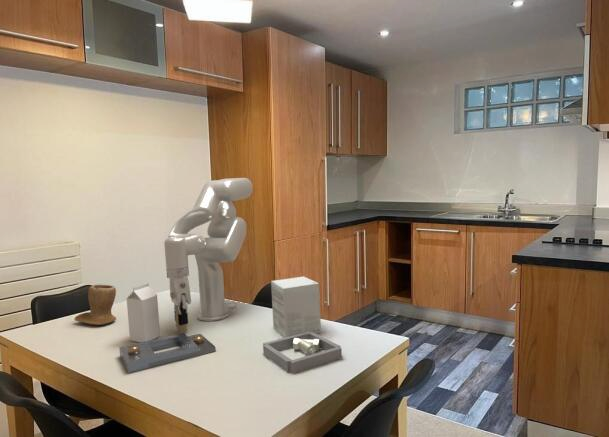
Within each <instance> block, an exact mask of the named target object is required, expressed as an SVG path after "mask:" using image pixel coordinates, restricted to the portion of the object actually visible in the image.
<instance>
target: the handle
mask: <svg viewBox="0 0 609 437" xmlns="http://www.w3.org/2000/svg"><path fill="white" fill-rule="evenodd" d="M169 295H170V299H171V298H173V299H174V298H175V297H174V294H172V293H169ZM180 305H182V303H180ZM180 308H182V307H180ZM174 311H175V314H174V320H175V319H176V321H175V326H176V330H177V331H176V332H177V334H181V333H185V334H187V333H188V324H184V325H179V322H178V314H179V311H178V306H177V305H176V304H175V310H174Z"/></svg>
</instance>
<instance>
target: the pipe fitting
mask: <svg viewBox="0 0 609 437" xmlns="http://www.w3.org/2000/svg"><path fill="white" fill-rule="evenodd" d="M292 348H293V350H294V351H301V352H303V353H305V355H306V356H308V355H312V354H315V353H317V352H321V348H320V339H299V338H294V341H293V347H292Z"/></svg>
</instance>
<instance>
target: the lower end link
mask: <svg viewBox="0 0 609 437" xmlns="http://www.w3.org/2000/svg"><path fill="white" fill-rule="evenodd" d="M187 336H188V337H189V338H190V339H191V340H192V341H193V342H194V343H195V344H196V345H197V346H198V351H196V352H192V353H188V354H184V355H180V356H176V357H172V358H168V359H164V360H160V361H155V362H151V363H148V366H149V368H148V369H150V368H151V369H152V368H155V367H159V366H162V365H163V366H164V365H167V364H171V363H175V362H179V361H182V360H187V359H190V358H195V357H198V356H199V357H200V356H203V355H207V354H211V353H215V352H216V346H215V345H214V344H213V343H212V342H211V341H210V340H208V339H207V338H206V337H205V336H204V335H203V334H201V333H197V334H193V335H187ZM178 346H179V347H184V346H183V344H182V343H181V342H180V341H177V342H173V343H168V344H164V345H160V346H155V347H151V349H152V350H153V352H157V351H161V350H165V349H170V348H175V347H178Z"/></svg>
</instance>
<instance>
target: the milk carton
mask: <svg viewBox="0 0 609 437" xmlns="http://www.w3.org/2000/svg"><path fill="white" fill-rule="evenodd" d="M126 306H127V321H128V322H127V323H128V331H129V332H128V333H129V341H130V342H137V343H141V342H145V341H150V340H154V339H158V338H160V337H161V329H160V328H161V327H160V318H159V317H160V315H159V303H158V294H157V293H156V292H155V291H154V290H153V289H152V288H151V286H150V283H149V282H147V283H144V284H141V285H138V286H135V287H133V288H132V292H131V293H130V294H129V295H128V297H126Z"/></svg>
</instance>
